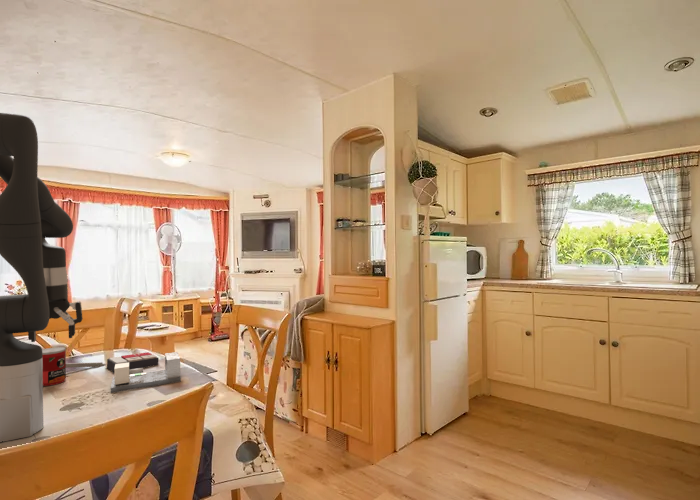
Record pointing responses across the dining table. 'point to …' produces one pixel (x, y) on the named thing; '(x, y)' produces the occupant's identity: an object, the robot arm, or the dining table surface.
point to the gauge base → (153, 376)
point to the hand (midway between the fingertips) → (52, 339)
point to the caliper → (84, 364)
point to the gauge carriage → (124, 372)
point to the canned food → (54, 365)
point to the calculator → (133, 361)
